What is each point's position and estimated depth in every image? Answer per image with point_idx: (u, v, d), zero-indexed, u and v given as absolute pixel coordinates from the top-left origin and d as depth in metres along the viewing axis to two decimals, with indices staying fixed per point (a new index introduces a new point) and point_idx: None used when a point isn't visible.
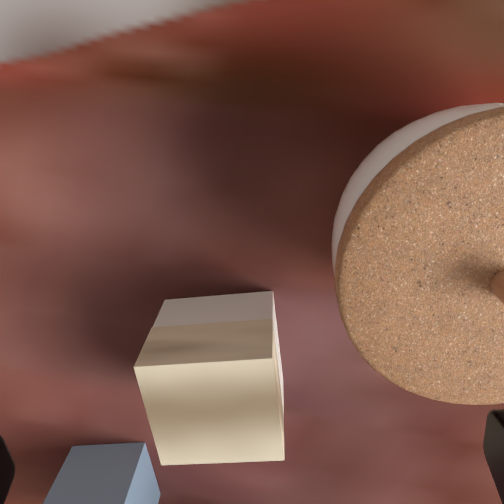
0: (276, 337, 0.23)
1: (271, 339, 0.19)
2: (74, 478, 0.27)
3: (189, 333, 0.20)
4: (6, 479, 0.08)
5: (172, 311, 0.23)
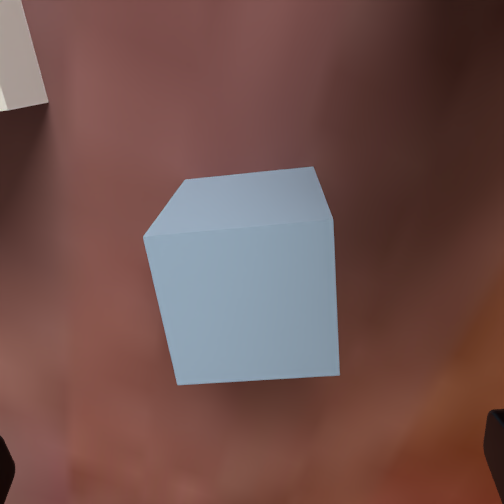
0: None
1: None
2: None
3: None
4: (6, 479, 0.08)
5: None
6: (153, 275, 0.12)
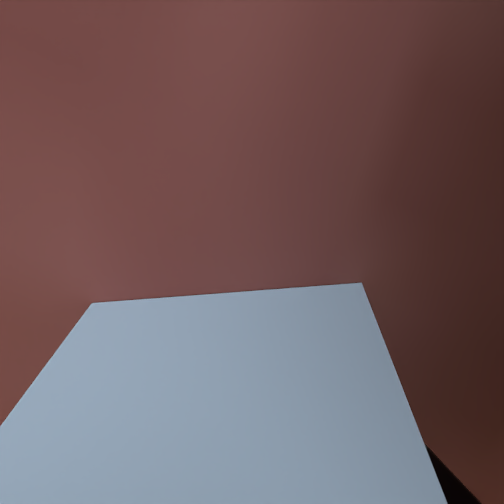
0: None
1: None
2: None
3: None
4: None
5: None
6: None
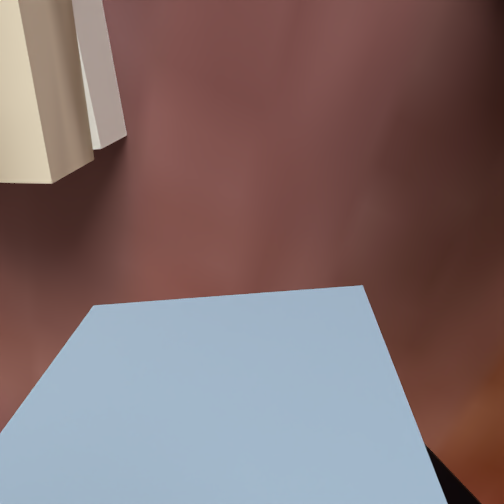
0: None
1: None
2: None
3: None
4: None
5: None
6: None
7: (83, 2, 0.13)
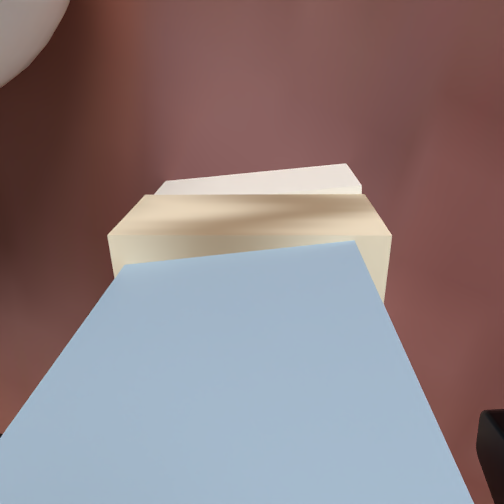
0: (218, 186, 0.13)
1: None
2: None
3: None
4: None
5: None
6: None
7: None
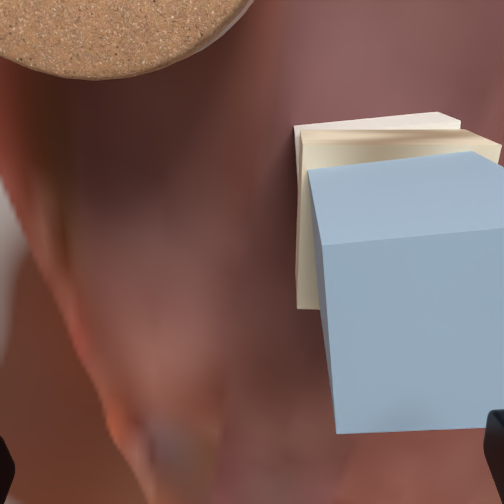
0: (343, 126, 0.17)
1: (301, 139, 0.15)
2: None
3: (297, 234, 0.17)
4: (6, 479, 0.08)
5: None
6: (328, 296, 0.09)
7: None
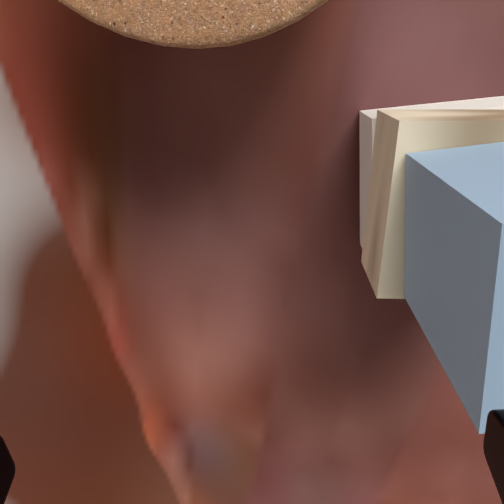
0: (417, 109, 0.17)
1: (388, 116, 0.14)
2: (429, 304, 0.12)
3: (370, 221, 0.16)
4: (6, 479, 0.08)
5: None
6: (499, 281, 0.08)
7: None
